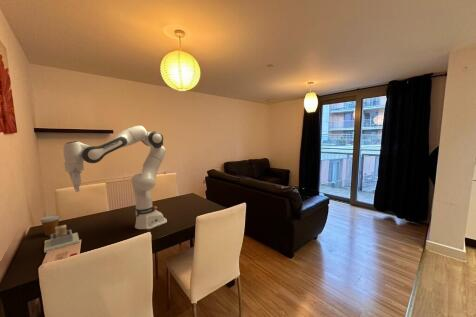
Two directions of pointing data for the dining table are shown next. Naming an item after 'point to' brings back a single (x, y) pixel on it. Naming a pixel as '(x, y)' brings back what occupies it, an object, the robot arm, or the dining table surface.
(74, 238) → the chute mount
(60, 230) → the chute block
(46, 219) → the disposable coffee cup
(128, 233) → the dining table surface
